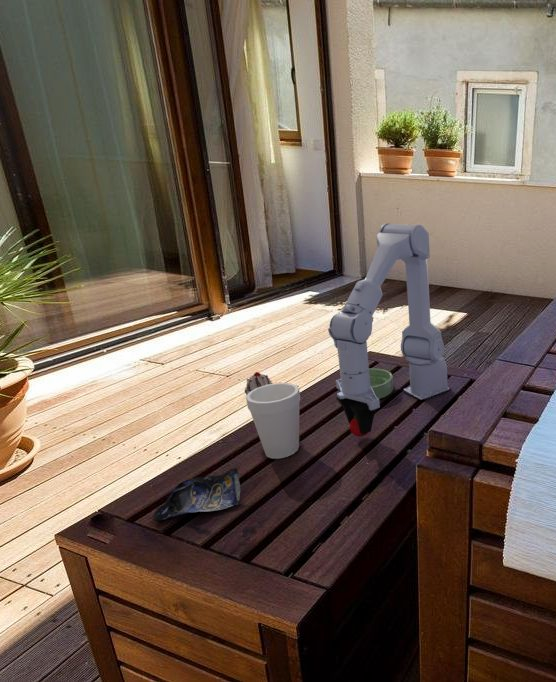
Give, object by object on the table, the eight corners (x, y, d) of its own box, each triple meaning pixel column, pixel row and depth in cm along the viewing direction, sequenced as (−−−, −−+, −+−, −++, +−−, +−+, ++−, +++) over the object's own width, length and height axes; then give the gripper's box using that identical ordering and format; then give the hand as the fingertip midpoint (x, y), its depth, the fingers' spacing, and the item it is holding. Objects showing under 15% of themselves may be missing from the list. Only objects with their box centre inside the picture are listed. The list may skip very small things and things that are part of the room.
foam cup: (246, 455, 95) (235, 397, 90) (284, 434, 102) (275, 379, 98) (280, 467, 91) (270, 407, 86) (316, 444, 99) (309, 388, 94)
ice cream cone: (287, 429, 104) (277, 367, 99) (273, 443, 99) (261, 378, 94) (262, 428, 105) (251, 366, 100) (247, 441, 100) (235, 376, 95)
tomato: (365, 427, 104) (363, 408, 102) (375, 435, 101) (373, 415, 99) (346, 434, 101) (344, 415, 100) (356, 442, 98) (354, 422, 97)
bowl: (376, 377, 132) (375, 364, 131) (403, 392, 123) (402, 378, 122) (332, 391, 123) (330, 377, 122) (357, 408, 115) (355, 393, 113)
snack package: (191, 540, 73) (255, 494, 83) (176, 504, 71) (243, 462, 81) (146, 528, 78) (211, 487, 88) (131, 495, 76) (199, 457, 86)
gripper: (319, 364, 98) (327, 422, 103) (354, 385, 89) (360, 448, 93) (350, 356, 103) (356, 412, 107) (386, 375, 93) (391, 435, 98)
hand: (360, 428), depth 101 cm, fingers closed on tomato, 4 cm apart
